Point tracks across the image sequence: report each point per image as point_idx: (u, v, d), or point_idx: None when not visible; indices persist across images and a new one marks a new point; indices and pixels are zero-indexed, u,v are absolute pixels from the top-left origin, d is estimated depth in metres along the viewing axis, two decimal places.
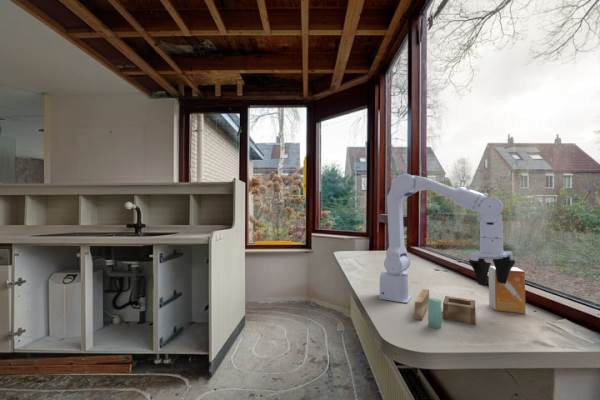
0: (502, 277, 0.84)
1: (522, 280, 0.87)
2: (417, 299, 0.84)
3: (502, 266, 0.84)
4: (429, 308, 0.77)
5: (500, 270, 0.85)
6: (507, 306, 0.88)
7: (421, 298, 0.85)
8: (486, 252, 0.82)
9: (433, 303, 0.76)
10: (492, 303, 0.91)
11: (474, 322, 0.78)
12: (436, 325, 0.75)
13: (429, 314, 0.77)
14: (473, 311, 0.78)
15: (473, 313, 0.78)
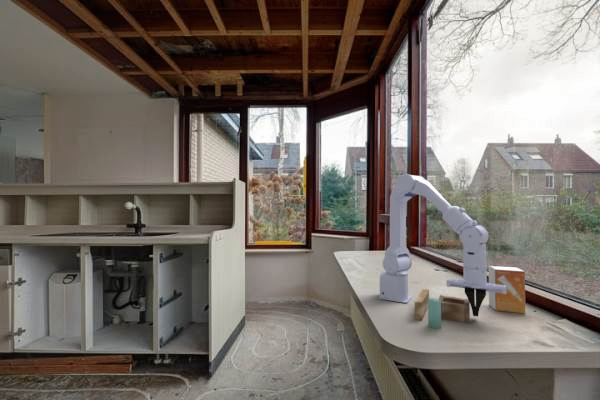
0: (475, 309, 0.81)
1: (522, 280, 0.87)
2: (417, 299, 0.84)
3: None
4: (429, 308, 0.77)
5: None
6: (507, 306, 0.88)
7: (421, 298, 0.85)
8: (463, 281, 0.83)
9: (433, 303, 0.76)
10: (492, 303, 0.91)
11: (468, 321, 0.79)
12: (436, 325, 0.75)
13: (429, 314, 0.77)
14: (467, 310, 0.79)
15: (467, 312, 0.79)
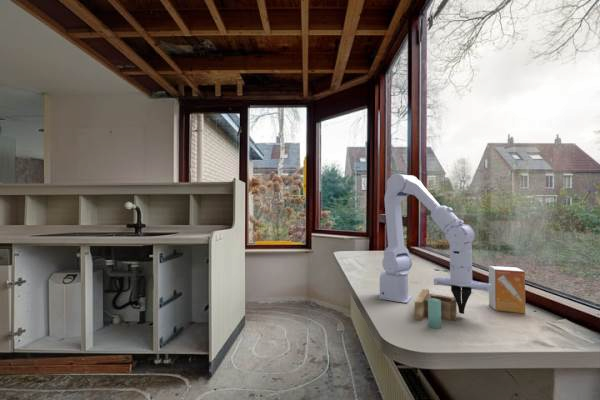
0: (461, 306, 0.83)
1: (522, 280, 0.87)
2: (417, 299, 0.84)
3: None
4: (429, 308, 0.77)
5: None
6: (507, 306, 0.88)
7: (421, 298, 0.85)
8: (450, 279, 0.84)
9: (433, 303, 0.76)
10: (492, 303, 0.91)
11: (454, 318, 0.81)
12: (436, 325, 0.75)
13: (429, 314, 0.77)
14: (453, 308, 0.81)
15: (453, 310, 0.81)
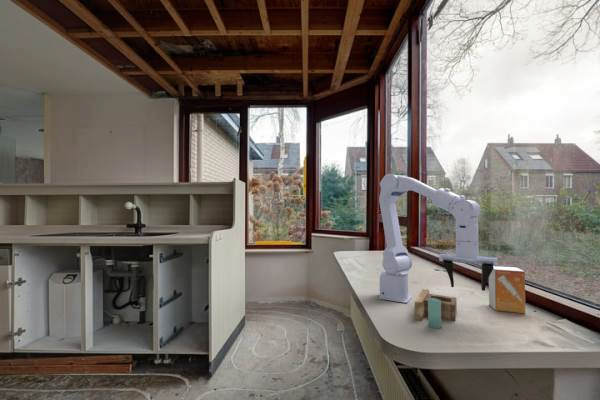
0: (482, 283, 0.80)
1: (522, 280, 0.87)
2: (417, 299, 0.84)
3: (482, 272, 0.80)
4: (429, 308, 0.77)
5: (482, 276, 0.81)
6: (507, 306, 0.88)
7: (421, 298, 0.85)
8: (456, 254, 0.83)
9: (433, 303, 0.76)
10: (492, 303, 0.91)
11: (454, 318, 0.81)
12: (436, 325, 0.75)
13: (429, 314, 0.77)
14: (453, 308, 0.81)
15: (453, 310, 0.81)
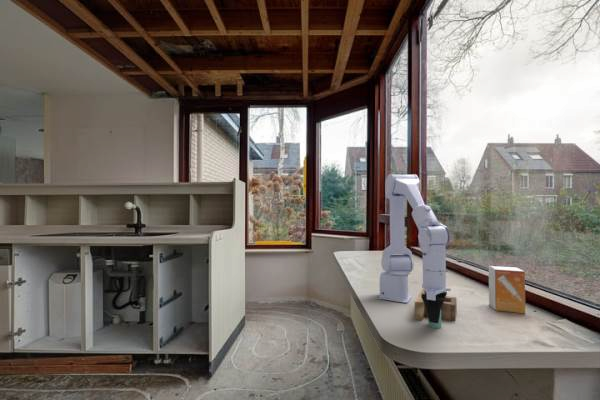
0: None
1: (522, 280, 0.87)
2: (417, 299, 0.84)
3: None
4: None
5: None
6: (507, 306, 0.88)
7: (421, 298, 0.85)
8: (435, 287, 0.75)
9: None
10: (492, 303, 0.91)
11: (454, 318, 0.81)
12: (436, 325, 0.75)
13: None
14: (453, 308, 0.81)
15: (453, 310, 0.81)
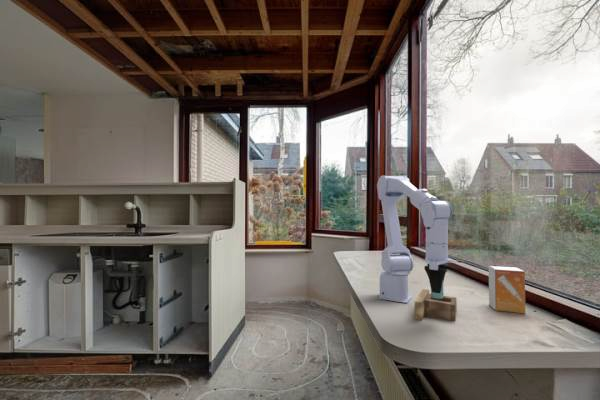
0: None
1: (522, 280, 0.87)
2: (417, 299, 0.84)
3: None
4: None
5: None
6: (507, 306, 0.88)
7: (421, 298, 0.85)
8: (438, 259, 0.78)
9: None
10: (492, 303, 0.91)
11: (454, 318, 0.81)
12: (438, 295, 0.79)
13: None
14: (453, 308, 0.81)
15: (453, 310, 0.81)
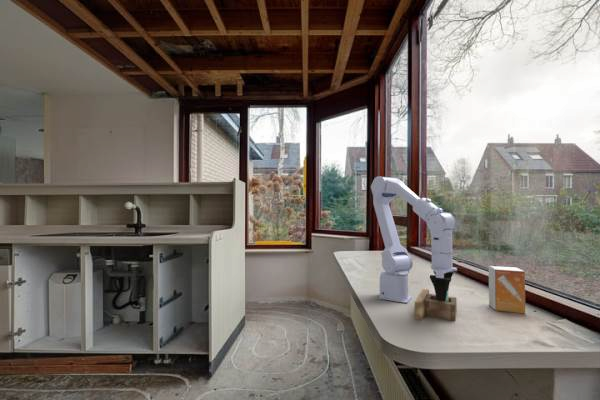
0: None
1: (522, 280, 0.87)
2: (417, 299, 0.84)
3: (444, 278, 0.89)
4: None
5: None
6: (507, 306, 0.88)
7: (421, 298, 0.85)
8: (443, 267, 0.84)
9: None
10: (492, 303, 0.91)
11: (454, 318, 0.81)
12: None
13: None
14: (453, 308, 0.81)
15: (453, 310, 0.81)
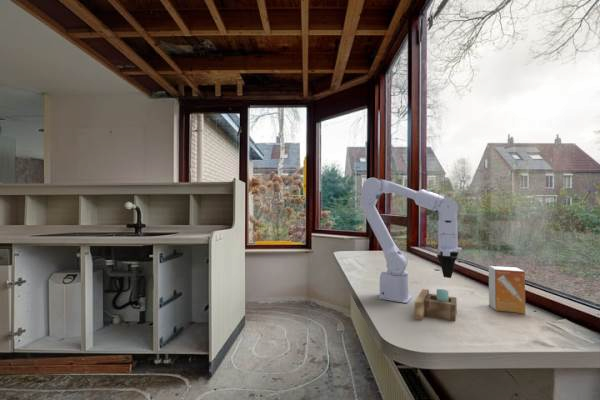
0: None
1: (522, 280, 0.87)
2: (417, 299, 0.84)
3: None
4: (438, 298, 0.86)
5: None
6: (507, 306, 0.88)
7: (421, 298, 0.85)
8: (449, 247, 0.92)
9: (442, 293, 0.85)
10: (492, 303, 0.91)
11: (454, 318, 0.81)
12: None
13: None
14: (453, 308, 0.81)
15: (453, 310, 0.81)
